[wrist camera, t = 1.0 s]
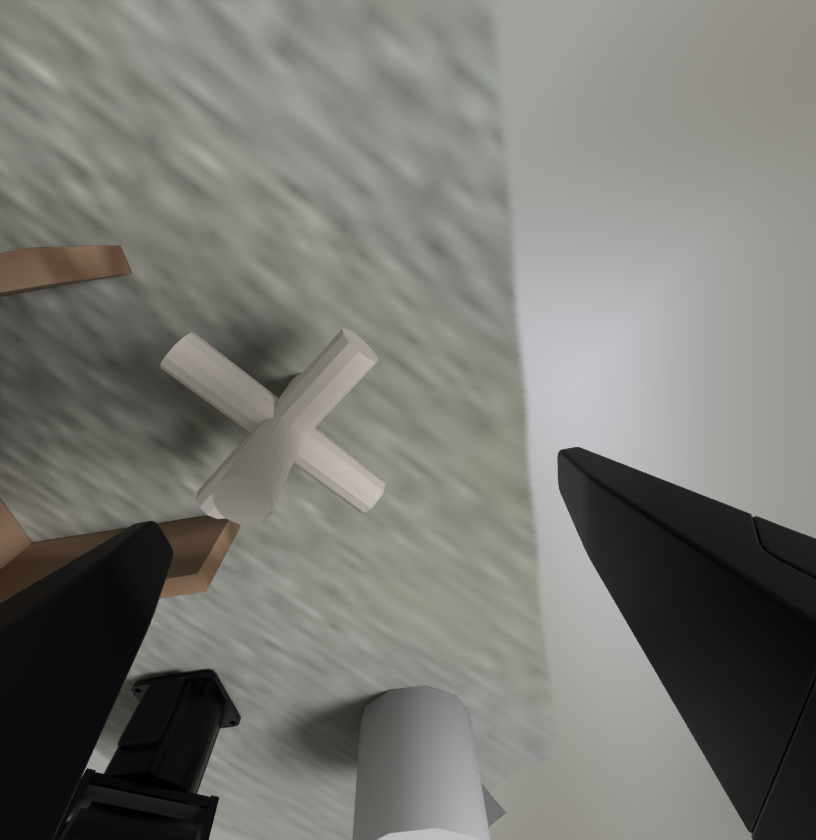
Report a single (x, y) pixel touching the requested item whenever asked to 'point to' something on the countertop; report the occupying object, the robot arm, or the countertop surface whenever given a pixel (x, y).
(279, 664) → the countertop surface
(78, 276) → the walnut bay
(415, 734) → the toilet tissue
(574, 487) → the robot arm
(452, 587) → the countertop surface
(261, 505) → the pipe connector
